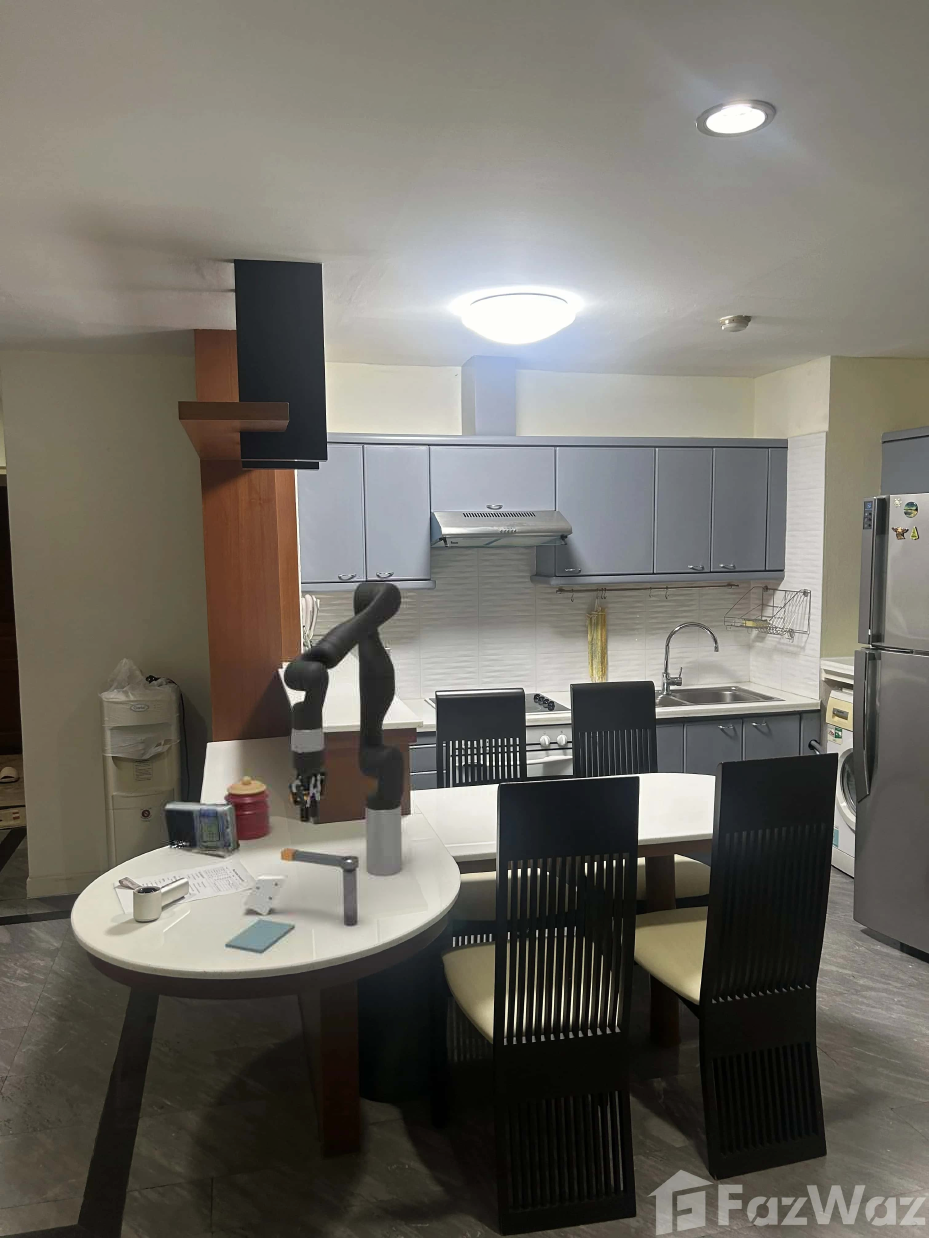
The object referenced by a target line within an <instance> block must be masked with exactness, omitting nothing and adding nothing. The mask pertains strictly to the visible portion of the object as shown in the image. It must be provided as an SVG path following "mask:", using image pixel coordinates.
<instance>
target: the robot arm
mask: <svg viewBox="0 0 929 1238" xmlns="http://www.w3.org/2000/svg"><path fill="white" fill-rule="evenodd" d="M352 603H353V604H352V605H353V614H354V616H353V617H350V618H349V619H347V620H345V621H344V622H341V623H339V624H337V625H336V626H333V628H331V629H330V630H329V631H328V632H326V634H325V635H324V636H323V637H322V638H321V639H320V640H319V641H318V642H317V643H316V644H315V645H314V646H312V647H310V648H308V649H307V650H305V651H303V652H302V653H300V654H299V655H296V657H295V658H293V659H292V660H291V661H289V663H288V664H287V665H286V667H285V669H284V671H283V672H284V673H283V681H284V685H285V686H286V687H287V688H288V689H289V690H293V691H296V692H305V693H304V694H305V695H304V698H303V700H302V701H297V702H295V703H294V704H293V705H292V707H291V735H290V736H291V737H290V740H291V741H290V743H291V745H290V747H291V748H290V749H291V767H292V768H293V769H295V770H296V775H295V781H294V782H293V783H289V784H288V789H289V791H290V792H289V793H291V796H292V800H293V806H297V807H299V819H300V820H299V821H300V822H301V823H306V824H308V823H309V822H310V821H311V818H315V819H316V818H317V817H319V815H320V814H319V813H320V812H319V807H318V801H319V800H320V797H324V795H325V789H326V783H327V777H328V771H327V770H321V768H323V767H324V766H325V735H324V734H325V733H324V728H323V727H324V726H323V725H324V724H323V720H324V719H323V708H324V704H325V701H326V696H327V692H328V687H329V684H330V675H329V670H332V669H334V668H336V667H337V666H338V665H339V664H340V663H341V662H342V661H343V660H344V659H345V658H346V656H347V655H349V653H350V652H351V651H352V650H353V649H354V648H355V647H356V646H357V651H358V652H357V653H358V684H359V685H358V686H359V687H358V688H359V711H360V713H359V717H360V718H359V719H360V720H359V737H358V738H359V739H358V749H357V750H358V753H357V755H358V757H357V760H358V762H357V763H358V768H359V771H360V773H361V774H362V775H363V776H364V777H366V778H369V779H373V780H377V787H376V788H377V790H374V791H370V792H368V793H367V794H366V796H365V801H364V802H365V805H364V806H365V850H366V851H365V852H366V853H365V855H366V857H365V858H366V861H365V862H366V872H367V873H368V874H370V875H373V876H380V877H385V876H392V875H396V874H398V873H400V872H402V869H403V853H402V852H403V851H402V850H403V846H402V843H403V839H402V834H403V833H402V799H403V794H404V788H405V767H406V766H405V757H404V754H403V751H402V750H401V749H400V748H399V747H398V746H394V745H389V744H385V743H383V724H384V719H385V717H386V715H387V713H388V711H389V709H390V707H391V705H392V703H393V700H394V698H395V694H396V673H395V666H394V664H393V662H392V659H391V658H390V655H389V653H388V652H387V651H388V650H386V648H385V646H384V644H383V643H382V640H381V637H380V633H379V629H378V628H380V627H381V626H382V625H384V624H385V623H386V622H388V621H390V619H392V618H393V617H394V616H396V614H397V613H398V612H399V610H400V607H401V604H402V594H401V591H400V589H399V588H398V586H397V585H395V584H394V583H392V582H385V581H384V582H383V581H382V582H381V581H362V582H361V583H359V584H358V585H357V586H356V587H355V590H354V594H353V602H352ZM304 796H305V797H306V801H305V799H304ZM297 798H298V799H297Z"/></svg>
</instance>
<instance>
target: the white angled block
mask: <svg viewBox="0 0 929 1238" xmlns="http://www.w3.org/2000/svg"><path fill="white" fill-rule="evenodd" d="M287 879H288V875H263V876H261V875H260V876H258V878H257V880H256V881H255V883H254V885H253V886H252V887H251V890H250V892H249V893H248V896H247V897H246V899H245V901H244V902H243V905H244V906H245V907H249V908H250V909H252V910H254V911H256V912H257V913H259V914H260V915H263V916H267V914H268V913H269V911H270V909H271V907H272V905H273V904H274V902H275V901H276V898H277V896H278V895H279V894H280V892H281V889H282V888H283V885H284V884H285V882H286V880H287Z"/></svg>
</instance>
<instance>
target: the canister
mask: <svg viewBox="0 0 929 1238" xmlns="http://www.w3.org/2000/svg"><path fill="white" fill-rule="evenodd" d="M266 789H267V785H266V784H264V783H262V782H261V781H260V780H252V778H251V777H250V776H247V775H245V776H243V777H242V779H241V781H236V782H234V783H232V784H231V785H229V786H228V787H227V788H226V792H227V794H225V795H224V796H223V799H224V801H225V804H229V803H233V804H234V809H235V821H236V834H237V838H238V841H252V840H257V839H261V838H264V837H266V836H268V835H270V832H271V821H270V820H271V819H270V818H271V817H270V816H271V815H270V807H271V804H270V803H269V798H270V793H269V792H268V790H267V791H266Z"/></svg>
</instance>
